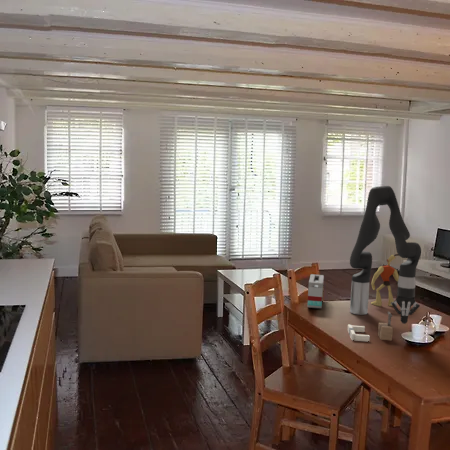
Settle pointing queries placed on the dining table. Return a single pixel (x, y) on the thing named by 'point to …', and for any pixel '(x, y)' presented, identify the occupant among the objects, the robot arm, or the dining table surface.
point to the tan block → (385, 329)
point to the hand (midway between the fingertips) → (403, 323)
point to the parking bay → (356, 336)
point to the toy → (385, 280)
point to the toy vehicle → (315, 291)
